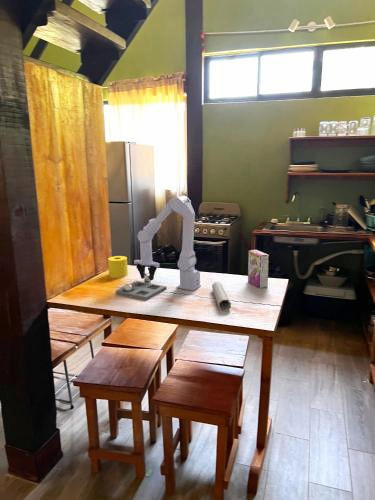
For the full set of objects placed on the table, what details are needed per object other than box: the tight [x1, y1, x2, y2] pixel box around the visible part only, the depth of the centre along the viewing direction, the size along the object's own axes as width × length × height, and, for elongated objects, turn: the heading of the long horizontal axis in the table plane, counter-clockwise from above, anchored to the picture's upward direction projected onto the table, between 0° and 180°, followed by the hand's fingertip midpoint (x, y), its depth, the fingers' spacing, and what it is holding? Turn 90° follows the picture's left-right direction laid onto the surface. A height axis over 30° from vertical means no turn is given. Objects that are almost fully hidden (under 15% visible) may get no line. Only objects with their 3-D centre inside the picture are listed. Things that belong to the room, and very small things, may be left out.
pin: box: [124, 283, 132, 293], centre depth 166 cm, size 3×3×4 cm
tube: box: [211, 281, 232, 312], centre depth 157 cm, size 5×5×25 cm
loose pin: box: [143, 272, 152, 283], centre depth 182 cm, size 3×3×4 cm
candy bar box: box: [247, 249, 270, 289], centre depth 174 cm, size 11×5×16 cm, turn 22°
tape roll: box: [107, 255, 129, 279], centre depth 193 cm, size 10×10×9 cm
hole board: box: [114, 280, 167, 301], centre depth 168 cm, size 18×16×2 cm
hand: (147, 279), depth 182 cm, fingers open, 5 cm apart
